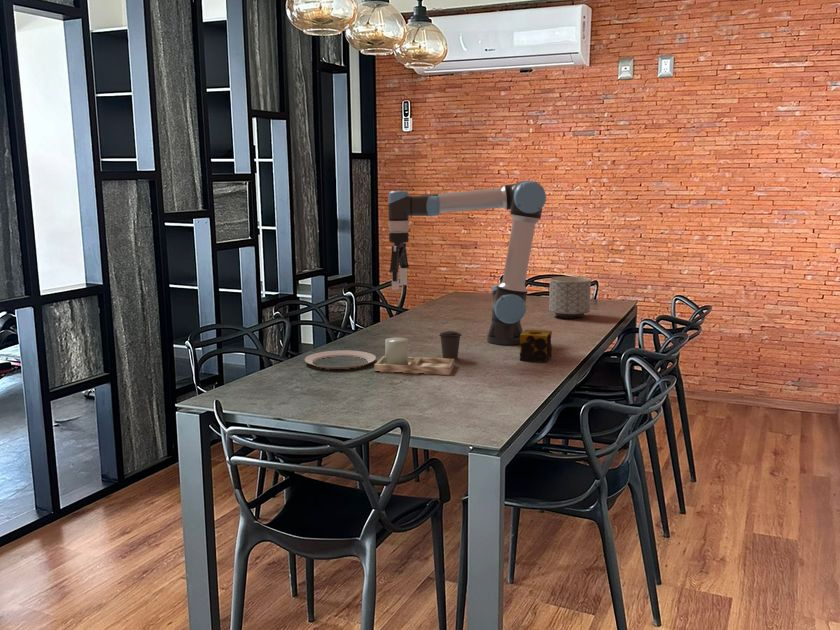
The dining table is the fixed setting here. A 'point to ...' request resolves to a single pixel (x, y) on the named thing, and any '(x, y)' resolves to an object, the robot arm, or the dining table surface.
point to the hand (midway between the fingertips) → (399, 287)
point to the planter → (569, 296)
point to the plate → (320, 355)
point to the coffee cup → (450, 344)
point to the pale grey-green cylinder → (396, 351)
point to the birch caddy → (418, 366)
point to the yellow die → (535, 346)
